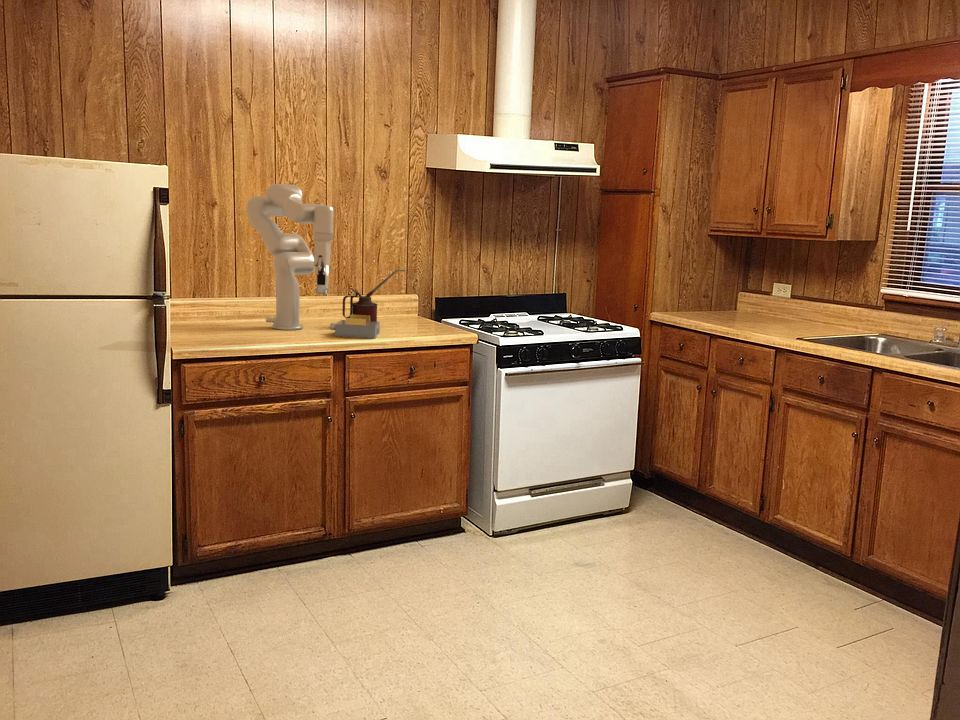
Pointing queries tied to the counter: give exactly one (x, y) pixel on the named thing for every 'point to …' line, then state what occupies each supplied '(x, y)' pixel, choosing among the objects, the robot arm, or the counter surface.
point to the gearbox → (356, 327)
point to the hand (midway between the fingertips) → (322, 283)
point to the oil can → (364, 303)
